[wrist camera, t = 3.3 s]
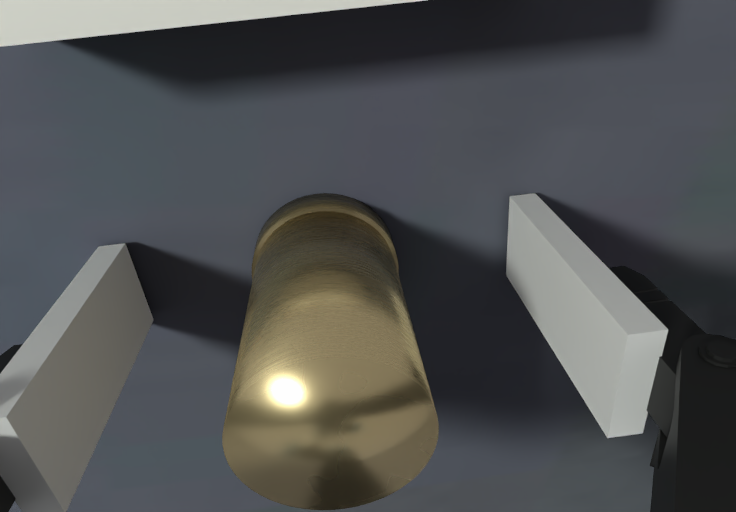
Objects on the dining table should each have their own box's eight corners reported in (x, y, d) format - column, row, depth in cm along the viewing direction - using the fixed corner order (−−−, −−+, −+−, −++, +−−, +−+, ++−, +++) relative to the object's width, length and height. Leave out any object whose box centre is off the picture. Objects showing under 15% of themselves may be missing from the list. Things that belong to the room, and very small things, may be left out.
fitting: (398, 305, 17) (445, 497, 11) (269, 321, 17) (244, 525, 11) (389, 185, 15) (442, 338, 9) (241, 202, 15) (190, 370, 8)
